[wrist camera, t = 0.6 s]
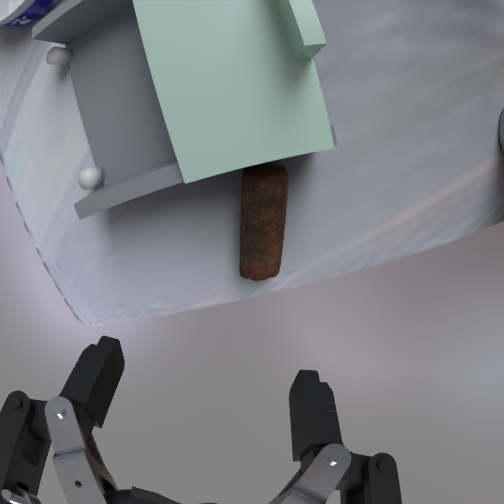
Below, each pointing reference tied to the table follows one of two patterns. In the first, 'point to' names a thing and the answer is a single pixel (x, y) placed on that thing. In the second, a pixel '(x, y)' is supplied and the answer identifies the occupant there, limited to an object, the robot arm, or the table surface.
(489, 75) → the table surface
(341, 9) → the table surface
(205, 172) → the cover
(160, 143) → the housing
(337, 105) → the table surface
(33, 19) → the dog bowl
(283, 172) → the brick
